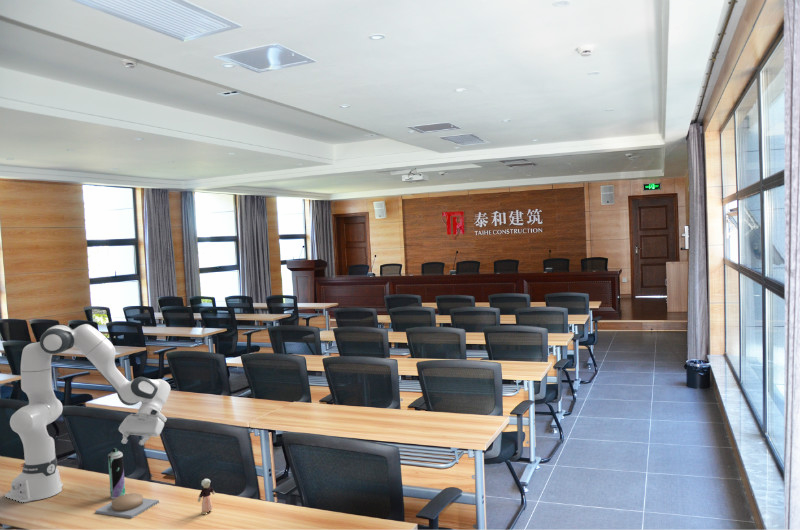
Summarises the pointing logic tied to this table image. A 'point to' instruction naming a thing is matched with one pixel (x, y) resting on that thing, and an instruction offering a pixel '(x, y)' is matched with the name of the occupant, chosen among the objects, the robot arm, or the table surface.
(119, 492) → the spray can
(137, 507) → the display stand
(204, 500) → the grandmother figurine
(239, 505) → the table surface
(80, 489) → the table surface
